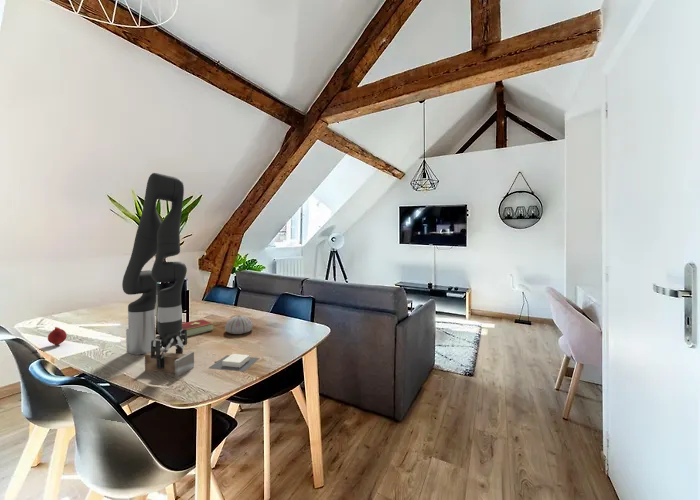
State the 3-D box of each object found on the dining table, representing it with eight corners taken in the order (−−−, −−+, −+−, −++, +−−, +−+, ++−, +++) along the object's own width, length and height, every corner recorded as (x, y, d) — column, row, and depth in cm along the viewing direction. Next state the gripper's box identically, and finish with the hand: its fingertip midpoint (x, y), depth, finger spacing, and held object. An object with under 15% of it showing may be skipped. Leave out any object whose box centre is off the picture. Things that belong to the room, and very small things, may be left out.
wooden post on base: (138, 374, 104) (138, 357, 104) (157, 364, 112) (157, 348, 111) (177, 378, 101) (177, 360, 101) (194, 368, 109) (193, 352, 109)
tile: (222, 360, 110) (239, 362, 109) (232, 353, 117) (249, 355, 116) (222, 366, 110) (239, 367, 109) (232, 358, 117) (249, 360, 116)
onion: (66, 341, 133) (66, 324, 133) (67, 345, 129) (66, 327, 128) (48, 345, 129) (47, 326, 128) (47, 348, 125) (47, 329, 124)
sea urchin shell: (244, 325, 161) (244, 311, 161) (258, 331, 152) (258, 315, 152) (219, 331, 151) (219, 315, 151) (233, 337, 142) (233, 321, 142)
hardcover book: (158, 336, 144) (158, 327, 144) (202, 326, 160) (202, 318, 160) (169, 341, 136) (169, 332, 136) (214, 330, 153) (214, 322, 153)
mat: (208, 369, 108) (208, 368, 108) (227, 356, 120) (227, 355, 120) (244, 372, 106) (244, 371, 106) (259, 359, 118) (259, 358, 118)
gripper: (175, 312, 113) (175, 354, 114) (143, 323, 99) (144, 371, 100) (193, 313, 112) (193, 356, 113) (163, 324, 98) (164, 373, 99)
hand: (170, 363), depth 106 cm, fingers open, 8 cm apart
